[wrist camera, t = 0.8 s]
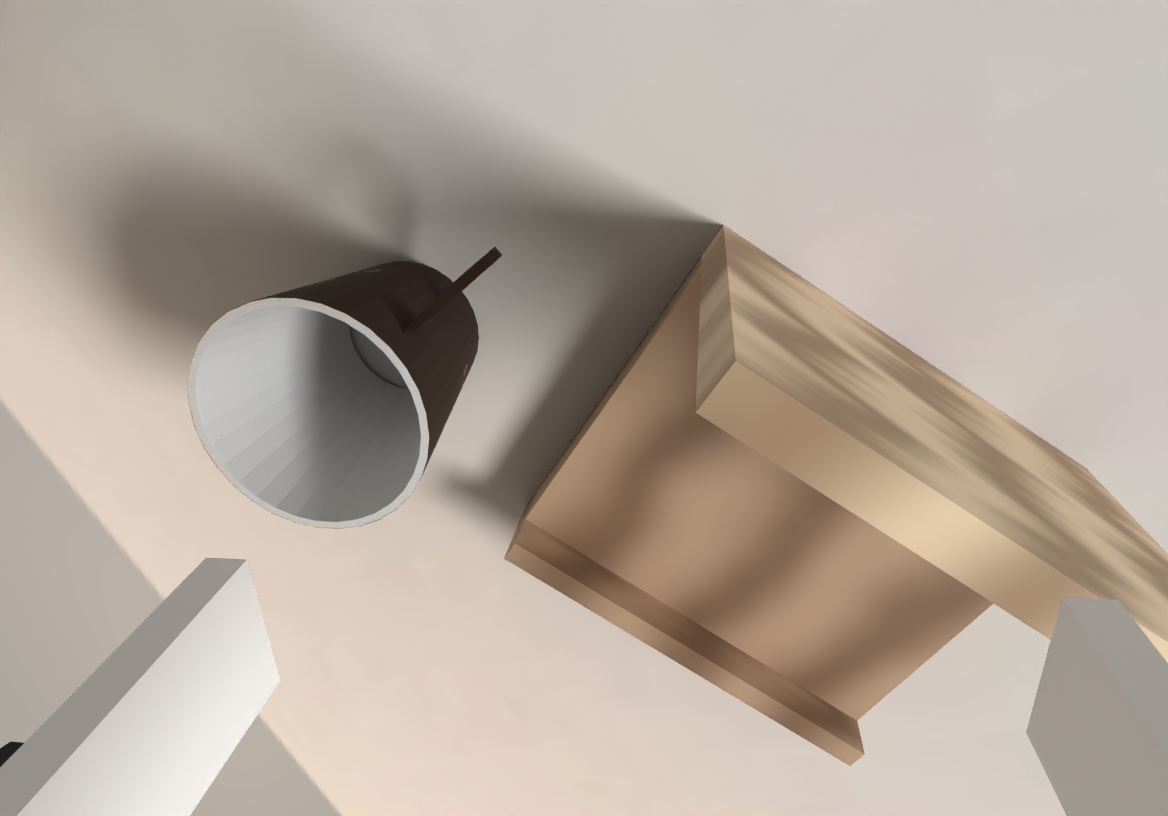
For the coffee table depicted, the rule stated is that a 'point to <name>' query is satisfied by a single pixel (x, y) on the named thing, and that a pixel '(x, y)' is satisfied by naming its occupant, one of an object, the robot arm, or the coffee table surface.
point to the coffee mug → (335, 390)
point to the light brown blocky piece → (816, 504)
